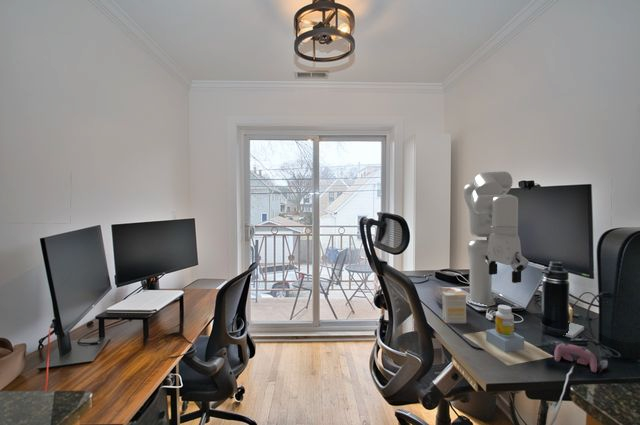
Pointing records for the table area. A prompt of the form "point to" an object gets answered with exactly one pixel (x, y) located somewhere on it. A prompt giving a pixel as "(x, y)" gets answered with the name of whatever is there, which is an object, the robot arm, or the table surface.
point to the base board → (508, 357)
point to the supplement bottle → (504, 321)
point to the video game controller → (584, 354)
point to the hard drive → (574, 330)
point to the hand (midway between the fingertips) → (504, 278)
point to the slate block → (505, 341)
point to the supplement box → (454, 307)
